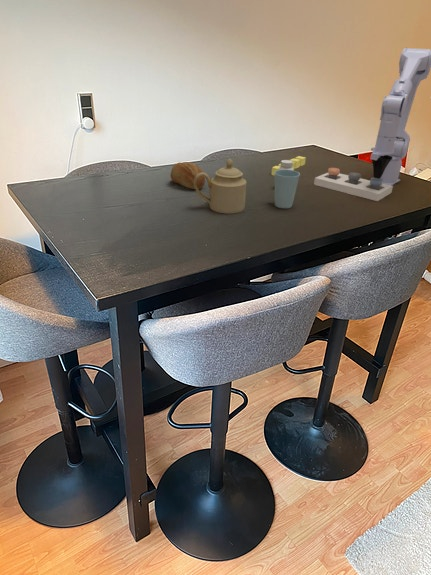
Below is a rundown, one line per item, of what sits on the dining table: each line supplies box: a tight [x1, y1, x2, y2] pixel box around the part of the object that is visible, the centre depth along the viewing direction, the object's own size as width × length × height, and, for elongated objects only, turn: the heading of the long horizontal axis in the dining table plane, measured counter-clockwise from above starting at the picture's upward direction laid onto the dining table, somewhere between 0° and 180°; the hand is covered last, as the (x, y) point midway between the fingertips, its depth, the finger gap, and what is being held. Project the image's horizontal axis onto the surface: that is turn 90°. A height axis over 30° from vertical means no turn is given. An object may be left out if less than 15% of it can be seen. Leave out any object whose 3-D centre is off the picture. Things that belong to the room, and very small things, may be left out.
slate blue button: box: [370, 176, 383, 190], centre depth 145 cm, size 4×4×4 cm
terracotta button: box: [327, 167, 341, 180], centre depth 154 cm, size 4×4×4 cm
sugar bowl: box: [194, 158, 248, 215], centre depth 127 cm, size 15×11×15 cm
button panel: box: [313, 172, 394, 202], centre depth 150 cm, size 12×24×2 cm, turn 49°
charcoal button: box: [348, 171, 362, 185], centre depth 149 cm, size 4×4×4 cm
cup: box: [274, 170, 301, 209], centre depth 132 cm, size 8×8×10 cm
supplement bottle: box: [278, 159, 295, 171], centre depth 146 cm, size 5×5×10 cm
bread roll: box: [170, 161, 206, 190], centre depth 147 cm, size 10×15×8 cm, turn 42°
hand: (377, 177), depth 144 cm, fingers closed
